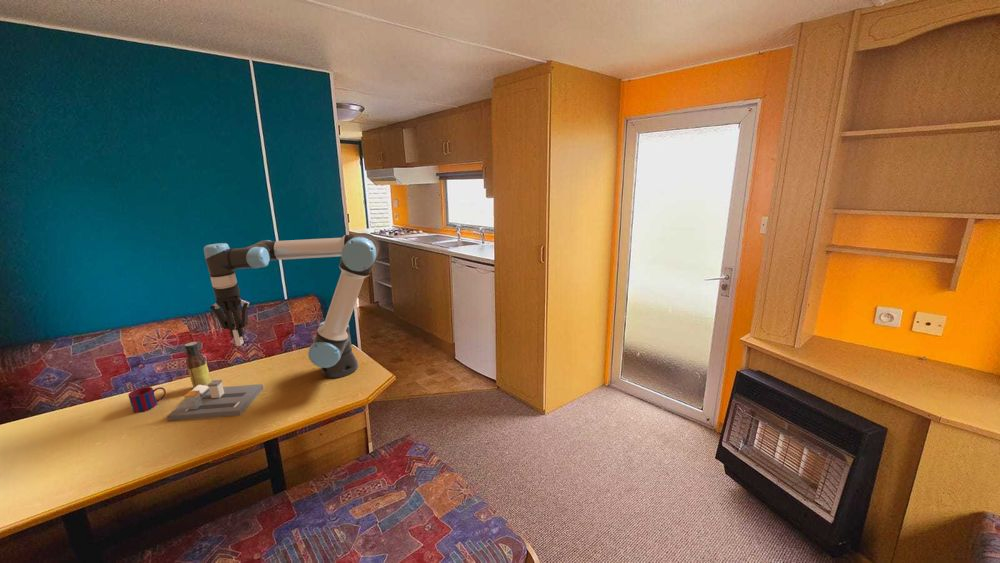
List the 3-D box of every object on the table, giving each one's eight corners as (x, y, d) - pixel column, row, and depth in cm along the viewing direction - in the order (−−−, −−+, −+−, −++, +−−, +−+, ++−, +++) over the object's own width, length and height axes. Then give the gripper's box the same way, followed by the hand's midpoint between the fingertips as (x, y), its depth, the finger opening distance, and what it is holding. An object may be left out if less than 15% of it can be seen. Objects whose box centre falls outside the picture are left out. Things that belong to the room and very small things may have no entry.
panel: (263, 388, 157) (262, 384, 156) (240, 415, 139) (239, 410, 139) (199, 393, 154) (198, 388, 153) (167, 420, 137) (166, 415, 136)
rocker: (209, 390, 153) (209, 386, 152) (201, 397, 148) (201, 393, 148) (198, 388, 152) (198, 384, 152) (190, 395, 147) (190, 391, 147)
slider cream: (224, 393, 149) (221, 379, 148) (220, 397, 146) (216, 384, 145) (215, 393, 149) (212, 380, 148) (210, 398, 146) (207, 384, 144)
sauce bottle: (216, 384, 160) (206, 340, 155) (204, 392, 154) (192, 347, 149) (202, 383, 161) (191, 340, 155) (189, 391, 155) (177, 346, 149)
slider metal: (202, 404, 142) (199, 390, 141) (197, 409, 139) (193, 395, 138) (193, 404, 142) (189, 391, 140) (187, 409, 139) (184, 395, 137)
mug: (135, 406, 146) (130, 390, 144) (169, 397, 151) (164, 382, 149) (131, 415, 140) (126, 398, 138) (167, 405, 146) (162, 389, 144)
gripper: (249, 281, 146) (262, 338, 152) (211, 284, 144) (226, 342, 150) (240, 287, 138) (254, 346, 145) (200, 290, 136) (216, 350, 143)
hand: (240, 344), depth 148 cm, fingers closed
